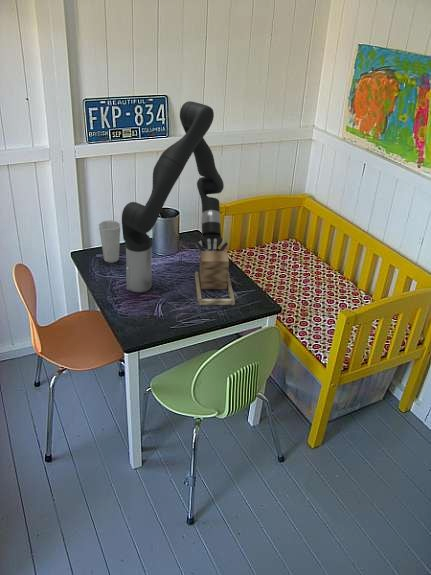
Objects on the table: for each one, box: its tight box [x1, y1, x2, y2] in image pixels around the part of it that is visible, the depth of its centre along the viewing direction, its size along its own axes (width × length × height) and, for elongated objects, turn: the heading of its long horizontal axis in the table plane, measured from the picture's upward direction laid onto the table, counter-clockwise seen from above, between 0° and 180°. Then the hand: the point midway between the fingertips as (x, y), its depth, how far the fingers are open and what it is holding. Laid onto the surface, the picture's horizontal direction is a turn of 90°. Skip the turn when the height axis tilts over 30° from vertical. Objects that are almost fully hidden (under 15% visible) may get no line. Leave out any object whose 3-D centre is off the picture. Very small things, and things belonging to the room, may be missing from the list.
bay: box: [194, 271, 236, 306], centre depth 206 cm, size 18×21×3 cm
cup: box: [98, 220, 121, 264], centre depth 220 cm, size 8×8×16 cm
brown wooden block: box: [198, 250, 230, 290], centre depth 206 cm, size 10×8×12 cm
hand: (212, 266), depth 212 cm, fingers closed
